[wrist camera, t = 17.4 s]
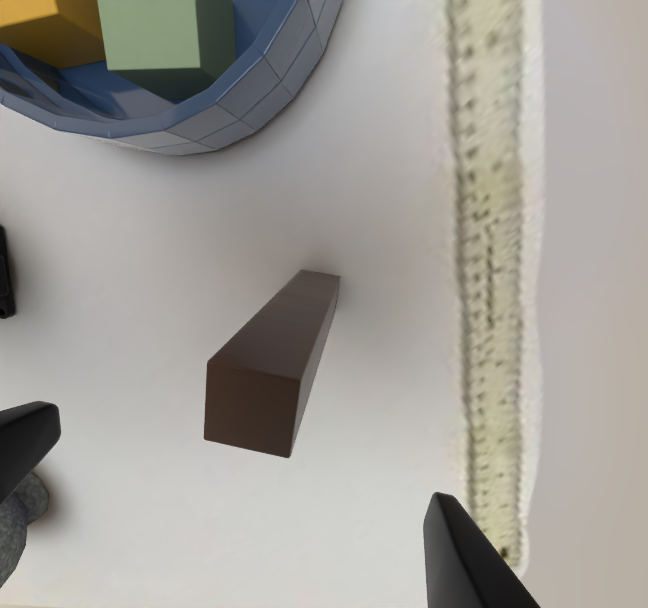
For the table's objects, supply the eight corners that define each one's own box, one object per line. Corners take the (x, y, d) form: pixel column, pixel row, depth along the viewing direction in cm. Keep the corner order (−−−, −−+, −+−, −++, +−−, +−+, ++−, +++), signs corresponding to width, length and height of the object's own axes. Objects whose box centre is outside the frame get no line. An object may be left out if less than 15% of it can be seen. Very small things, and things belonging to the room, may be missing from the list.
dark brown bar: (296, 307, 20) (202, 440, 9) (300, 269, 19) (205, 361, 8) (334, 314, 20) (289, 459, 9) (340, 276, 19) (301, 380, 8)
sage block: (164, 100, 17) (107, 70, 13) (154, 6, 16) (88, -56, 12) (238, 98, 17) (200, 67, 13) (233, 2, 15) (190, -64, 12)
